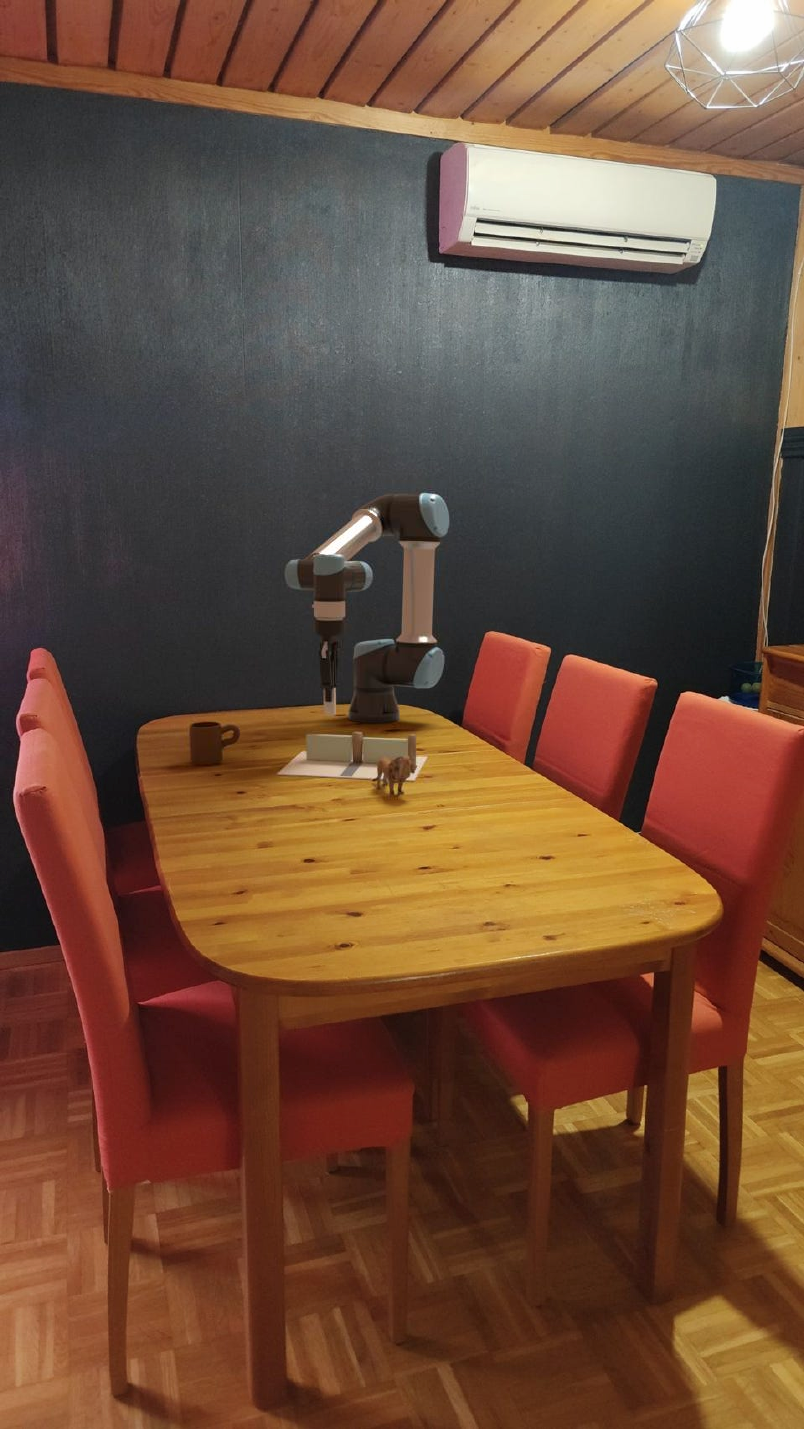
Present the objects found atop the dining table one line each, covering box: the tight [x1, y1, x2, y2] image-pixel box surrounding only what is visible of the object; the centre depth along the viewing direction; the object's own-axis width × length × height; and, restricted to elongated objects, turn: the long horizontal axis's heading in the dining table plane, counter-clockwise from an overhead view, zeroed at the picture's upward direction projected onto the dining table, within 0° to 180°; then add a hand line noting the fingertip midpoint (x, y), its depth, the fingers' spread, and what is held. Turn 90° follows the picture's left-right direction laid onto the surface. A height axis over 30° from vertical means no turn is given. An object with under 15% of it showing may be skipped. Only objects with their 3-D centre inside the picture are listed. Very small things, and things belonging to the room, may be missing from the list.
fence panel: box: [305, 733, 353, 761], centre depth 233 cm, size 2×11×6 cm, turn 81°
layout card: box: [276, 750, 429, 783], centre depth 230 cm, size 22×32×1 cm
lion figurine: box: [371, 756, 417, 797], centre depth 208 cm, size 15×5×9 cm, turn 35°
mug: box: [188, 721, 241, 767], centre depth 232 cm, size 12×8×9 cm, turn 102°
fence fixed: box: [351, 731, 417, 765], centre depth 231 cm, size 2×16×7 cm, turn 81°
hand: (329, 714), depth 237 cm, fingers closed
